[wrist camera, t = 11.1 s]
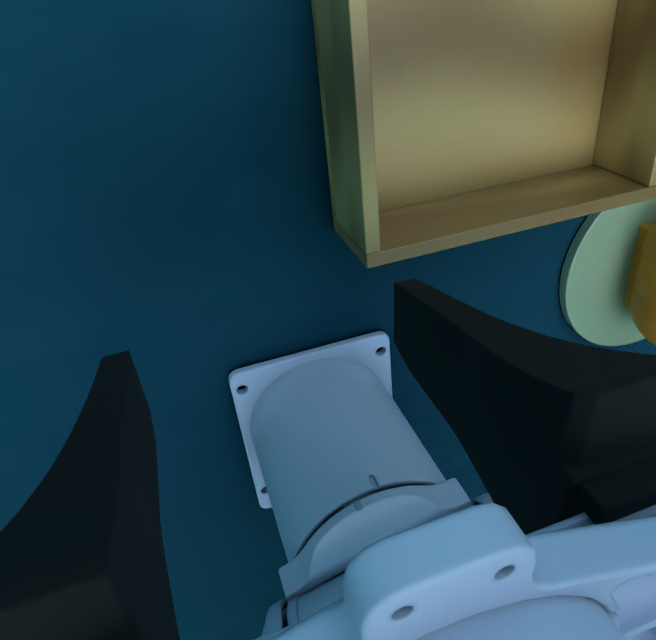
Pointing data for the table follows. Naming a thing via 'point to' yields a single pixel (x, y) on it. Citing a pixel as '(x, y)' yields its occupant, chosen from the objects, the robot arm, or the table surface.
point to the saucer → (603, 274)
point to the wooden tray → (482, 116)
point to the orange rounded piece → (643, 283)
